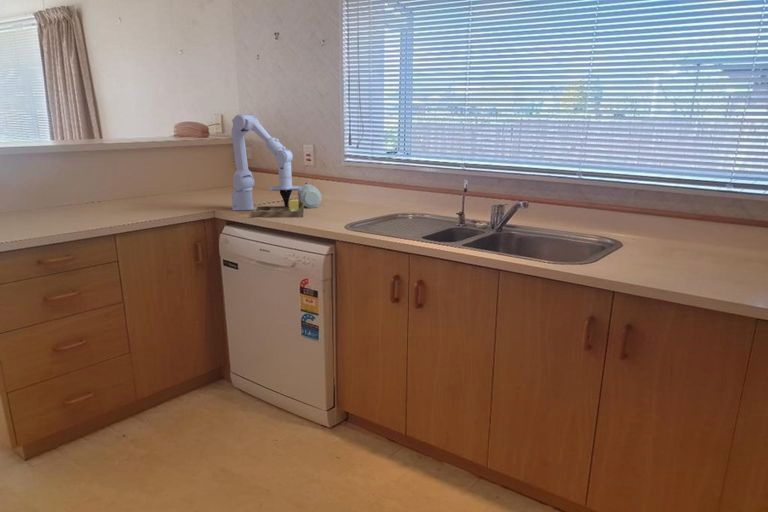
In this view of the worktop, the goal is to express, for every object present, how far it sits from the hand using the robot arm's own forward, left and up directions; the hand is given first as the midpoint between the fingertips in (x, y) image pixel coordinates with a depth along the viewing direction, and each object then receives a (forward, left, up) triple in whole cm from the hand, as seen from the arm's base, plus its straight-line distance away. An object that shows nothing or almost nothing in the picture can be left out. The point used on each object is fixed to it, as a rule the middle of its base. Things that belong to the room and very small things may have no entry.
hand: (286, 206), depth 250 cm
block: (+3, 0, -1) cm, 4 cm away
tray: (-3, -3, -3) cm, 5 cm away
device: (+9, +26, -3) cm, 28 cm away
